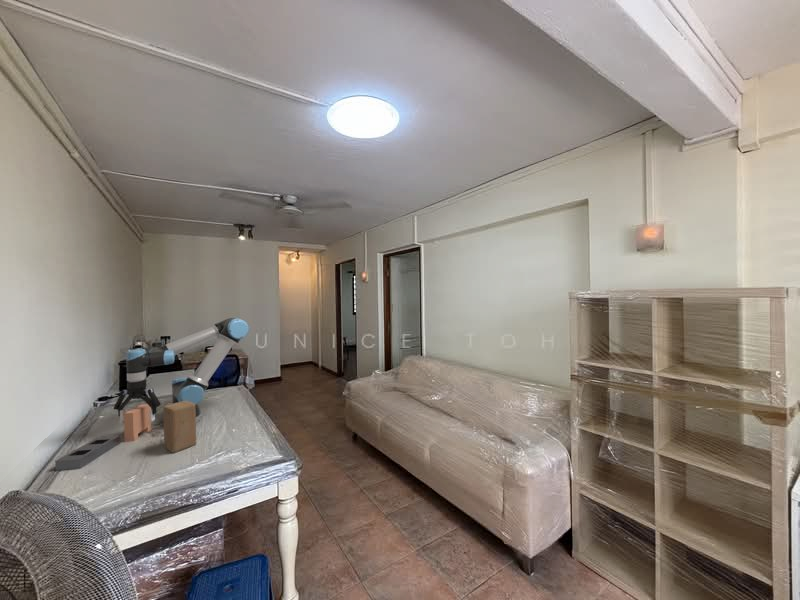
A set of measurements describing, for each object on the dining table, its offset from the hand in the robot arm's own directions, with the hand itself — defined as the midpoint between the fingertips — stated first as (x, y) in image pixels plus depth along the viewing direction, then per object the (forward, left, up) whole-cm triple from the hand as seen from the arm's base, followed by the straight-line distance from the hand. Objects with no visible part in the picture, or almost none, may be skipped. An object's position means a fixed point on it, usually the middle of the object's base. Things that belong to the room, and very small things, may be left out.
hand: (137, 421), depth 160 cm
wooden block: (-28, +16, -8) cm, 33 cm away
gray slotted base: (+7, +19, -7) cm, 22 cm away
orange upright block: (0, 0, -7) cm, 7 cm away
